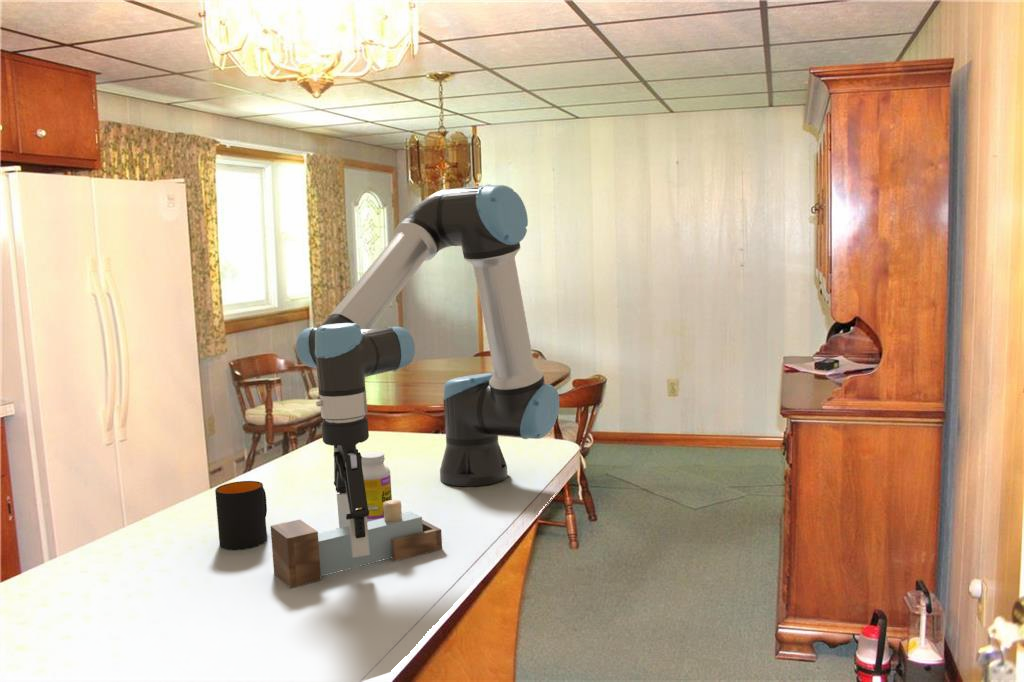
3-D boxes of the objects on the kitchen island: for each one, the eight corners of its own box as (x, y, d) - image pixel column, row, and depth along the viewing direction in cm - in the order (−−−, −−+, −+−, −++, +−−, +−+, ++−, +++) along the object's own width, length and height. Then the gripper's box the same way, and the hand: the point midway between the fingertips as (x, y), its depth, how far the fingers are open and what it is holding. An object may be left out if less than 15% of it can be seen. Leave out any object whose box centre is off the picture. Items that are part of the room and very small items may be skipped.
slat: (412, 544, 155) (410, 495, 154) (423, 550, 152) (420, 500, 151) (310, 570, 144) (306, 517, 143) (319, 577, 141) (316, 523, 140)
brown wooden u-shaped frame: (420, 537, 158) (419, 518, 158) (442, 549, 151) (441, 529, 151) (375, 548, 153) (373, 528, 153) (395, 561, 146) (393, 540, 146)
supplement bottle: (386, 525, 165) (382, 459, 164) (353, 524, 167) (348, 458, 165) (397, 514, 172) (393, 450, 170) (365, 513, 173) (361, 450, 172)
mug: (286, 529, 165) (282, 476, 164) (250, 551, 154) (245, 494, 153) (248, 527, 168) (244, 474, 167) (210, 548, 156) (205, 492, 155)
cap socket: (303, 565, 146) (300, 519, 145) (321, 580, 139) (317, 531, 138) (274, 573, 143) (270, 525, 142) (290, 588, 137) (287, 538, 136)
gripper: (312, 407, 154) (321, 523, 157) (331, 436, 131) (342, 571, 134) (354, 402, 157) (363, 516, 159) (381, 430, 133) (391, 563, 136)
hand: (353, 542), depth 147 cm, fingers open, 13 cm apart
